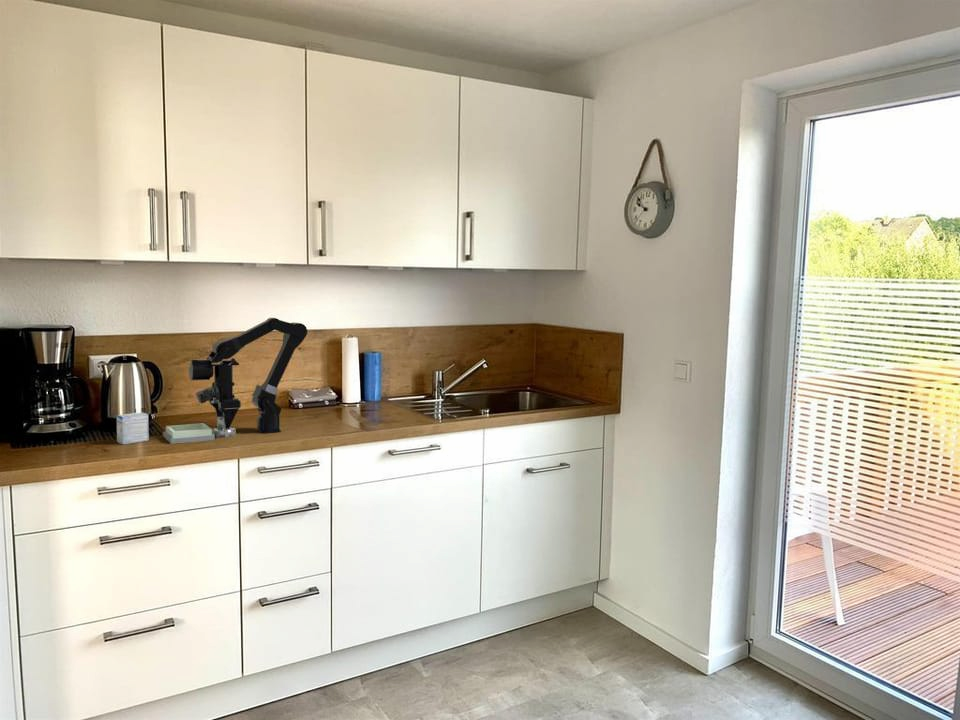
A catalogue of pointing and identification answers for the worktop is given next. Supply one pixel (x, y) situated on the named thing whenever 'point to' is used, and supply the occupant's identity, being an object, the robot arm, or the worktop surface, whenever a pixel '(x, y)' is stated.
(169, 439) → the square tray
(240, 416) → the worktop surface
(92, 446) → the worktop surface
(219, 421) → the gear
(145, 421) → the medicine box
